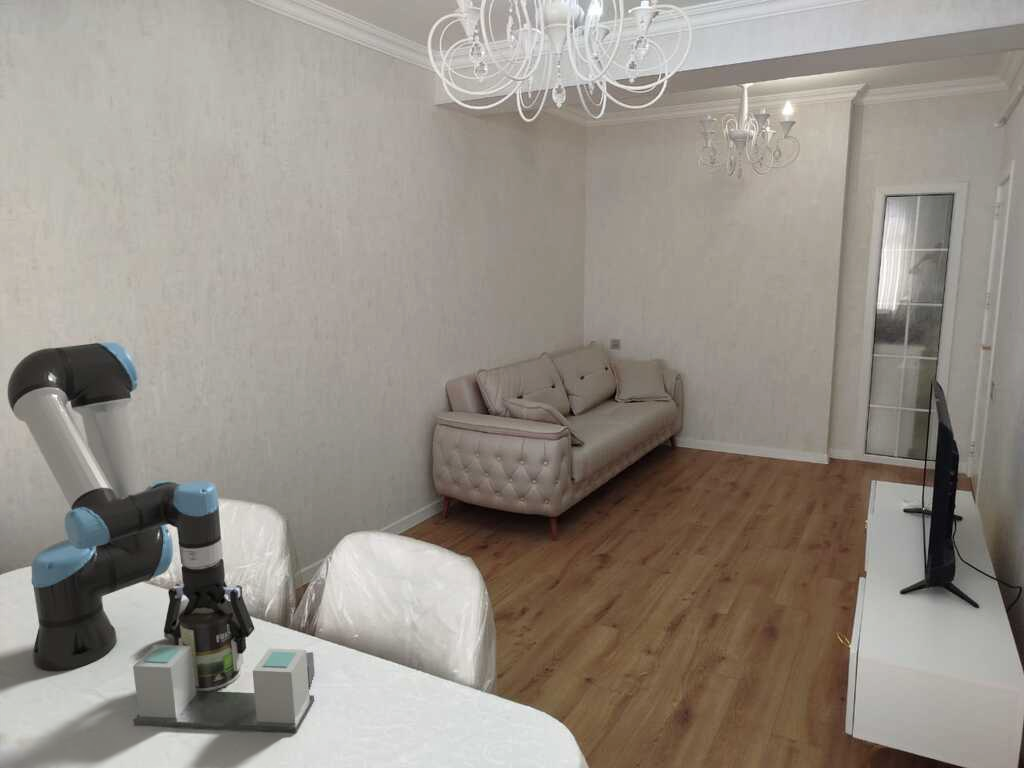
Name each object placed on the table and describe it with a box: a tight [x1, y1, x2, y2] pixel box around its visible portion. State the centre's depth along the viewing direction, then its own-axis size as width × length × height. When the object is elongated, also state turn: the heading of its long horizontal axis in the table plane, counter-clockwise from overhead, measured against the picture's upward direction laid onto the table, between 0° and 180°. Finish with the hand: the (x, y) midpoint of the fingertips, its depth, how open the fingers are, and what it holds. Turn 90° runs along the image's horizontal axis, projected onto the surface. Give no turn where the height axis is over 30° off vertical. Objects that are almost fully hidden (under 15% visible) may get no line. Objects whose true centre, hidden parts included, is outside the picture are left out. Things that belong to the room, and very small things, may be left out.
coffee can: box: [179, 600, 242, 691], centre depth 141 cm, size 10×10×14 cm
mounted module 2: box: [252, 648, 310, 723], centre depth 129 cm, size 7×7×10 cm
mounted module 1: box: [132, 644, 196, 718], centre depth 131 cm, size 7×7×10 cm
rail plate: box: [132, 690, 315, 734], centre depth 131 cm, size 30×9×1 cm, turn 85°
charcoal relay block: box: [306, 651, 316, 690], centre depth 140 cm, size 5×5×5 cm
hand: (212, 665), depth 142 cm, fingers closed on coffee can, 10 cm apart
